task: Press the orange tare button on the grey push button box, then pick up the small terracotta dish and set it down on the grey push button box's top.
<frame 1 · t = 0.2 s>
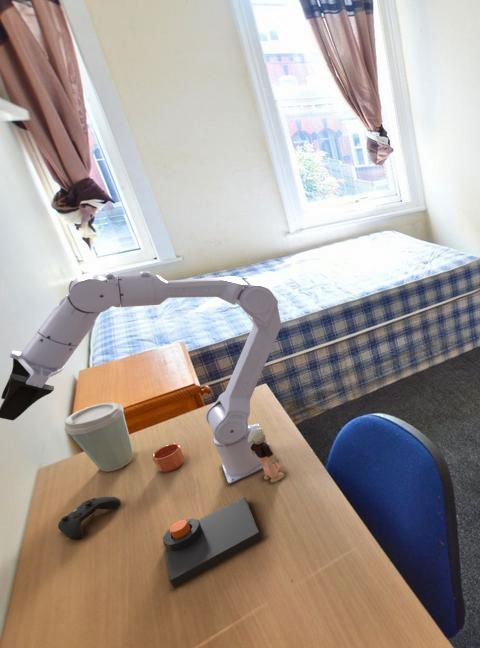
hand: (7, 408, 78), 31 cm above the table, tool tilted 45°, fingers open, 7 cm apart
grey push button box: (214, 541, 88), on the table
disposable coffee cup: (119, 463, 112), on the table
tare button: (180, 529, 86), point 4 cm above the table, slide at 0.1 cm
dish: (172, 464, 110), on the table
game controller: (90, 521, 96), on the table
grandmother figurine: (272, 476, 103), on the table
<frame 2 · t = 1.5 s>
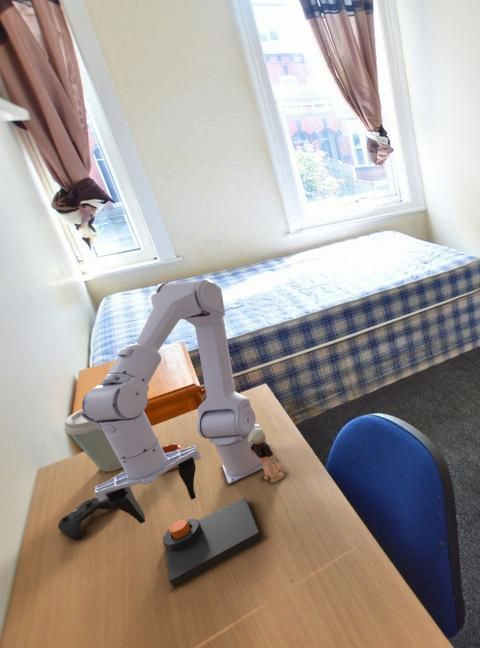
hand: (168, 507, 84), 9 cm above the table, tool pointing down, fingers open, 7 cm apart
nothing on the table moved.
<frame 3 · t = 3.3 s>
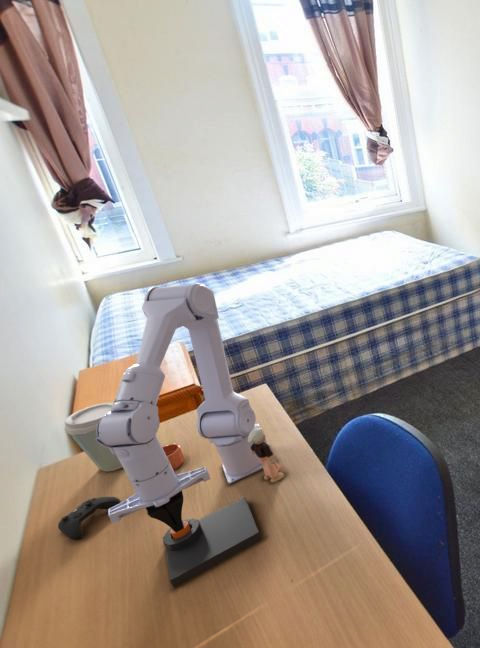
hand: (179, 527, 86), 5 cm above the table, tool pointing down, fingers closed, pressing on tare button
tare button: (180, 530, 86), point 4 cm above the table, slide at -0.2 cm, touching gripper
everything else where it was.
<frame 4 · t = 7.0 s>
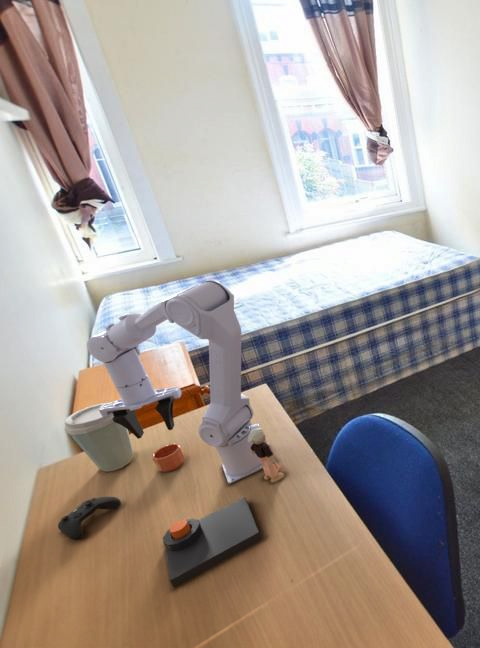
hand: (156, 431, 106), 10 cm above the table, tool pointing down, fingers open, 5 cm apart
tare button: (180, 529, 86), point 4 cm above the table, slide at 0.1 cm
everything else where it was.
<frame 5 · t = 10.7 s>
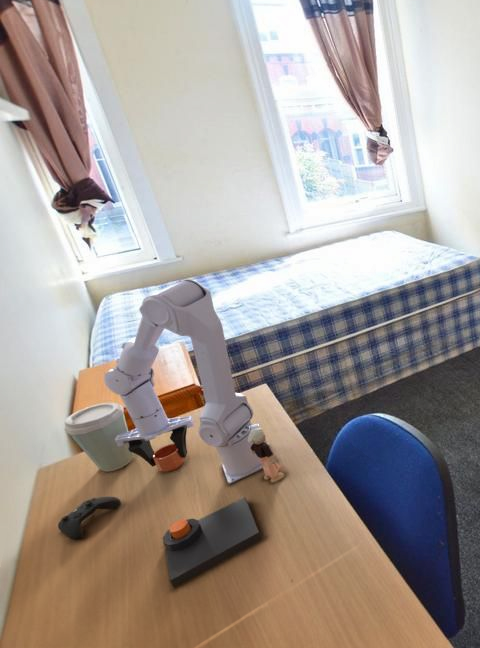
hand: (169, 459, 109), 2 cm above the table, tool pointing down, fingers closed on dish, 5 cm apart
dish: (172, 464, 110), on the table, touching gripper
everything else where it was.
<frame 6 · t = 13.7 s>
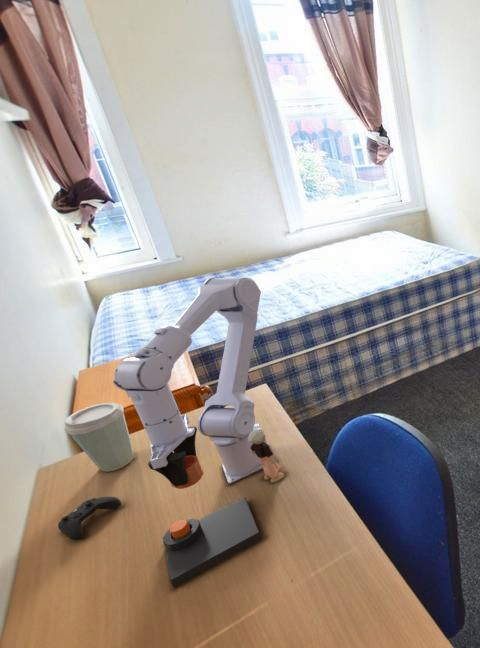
hand: (186, 474, 92), 9 cm above the table, tool pointing down, fingers closed on dish, 5 cm apart
dish: (188, 480, 92), point 8 cm above the table, touching gripper
everything else where it was.
when the fingers open (3 cm above the table, at t = 16.9 s): dish stays where it is, resting on grey push button box.
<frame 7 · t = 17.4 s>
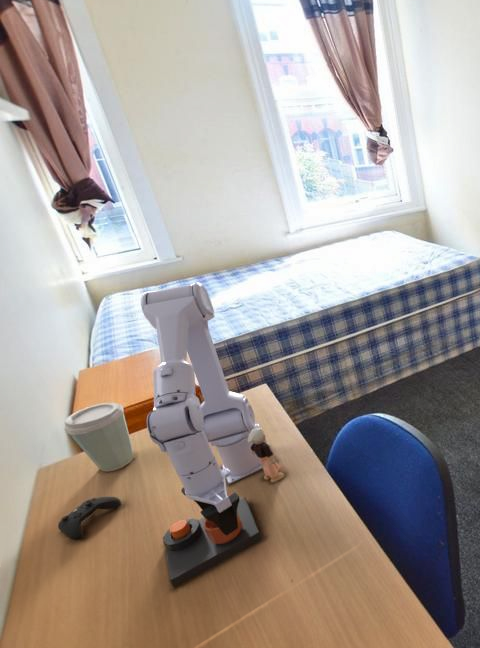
hand: (222, 521, 86), 5 cm above the table, tool pointing down, fingers open, 7 cm apart
dish: (227, 533, 87), point 2 cm above the table, touching grey push button box
everything else where it was.
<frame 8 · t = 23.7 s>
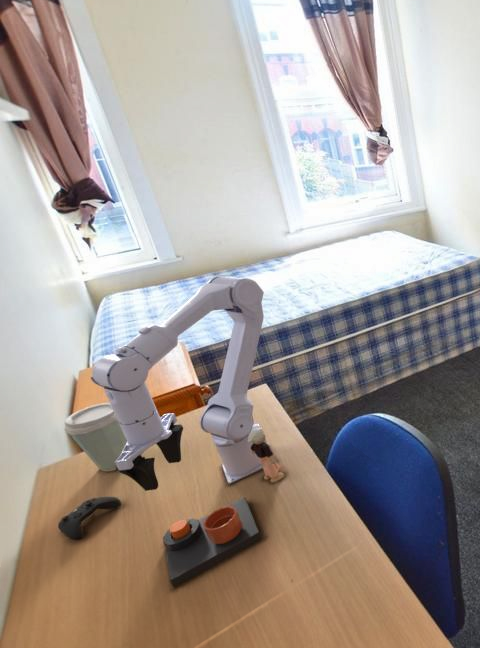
hand: (163, 474, 91), 10 cm above the table, tool pointing down, fingers open, 7 cm apart
nothing on the table moved.
at the end: tare button pushed in 1.0 cm at the most during the clip, back to where it started at the end; tare button slide at 0.1 cm; dish inside the target area on the grey push button box (3.1 cm from its centre), point 1.9 cm above the grey push button box's base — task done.
